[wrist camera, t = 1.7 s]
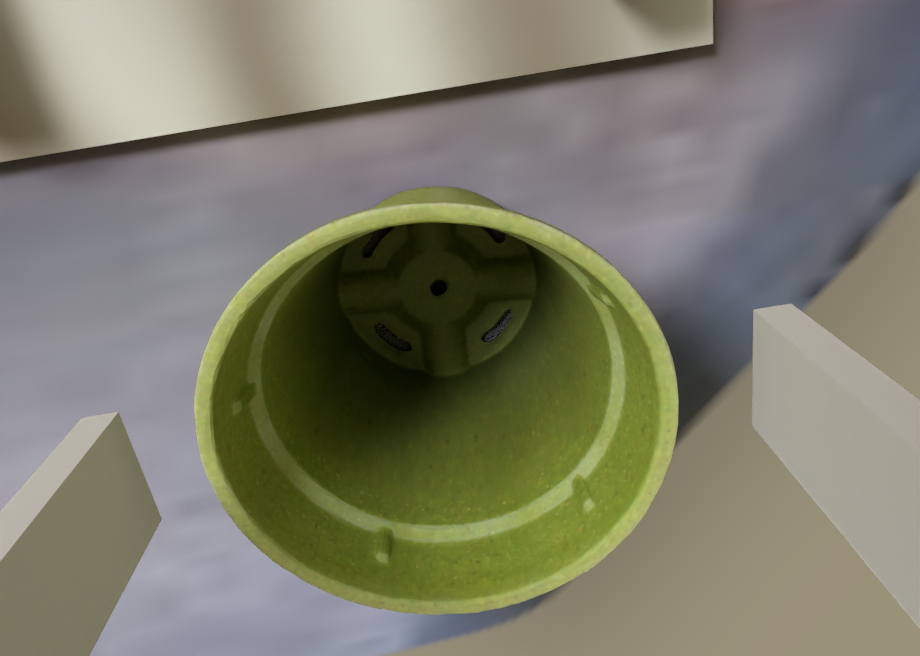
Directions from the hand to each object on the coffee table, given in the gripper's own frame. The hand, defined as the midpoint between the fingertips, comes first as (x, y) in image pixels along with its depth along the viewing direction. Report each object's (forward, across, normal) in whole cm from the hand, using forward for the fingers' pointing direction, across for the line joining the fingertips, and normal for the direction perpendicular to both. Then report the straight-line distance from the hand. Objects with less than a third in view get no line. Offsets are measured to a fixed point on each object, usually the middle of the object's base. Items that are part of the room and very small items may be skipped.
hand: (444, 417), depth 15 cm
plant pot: (+8, 0, 0) cm, 8 cm away
